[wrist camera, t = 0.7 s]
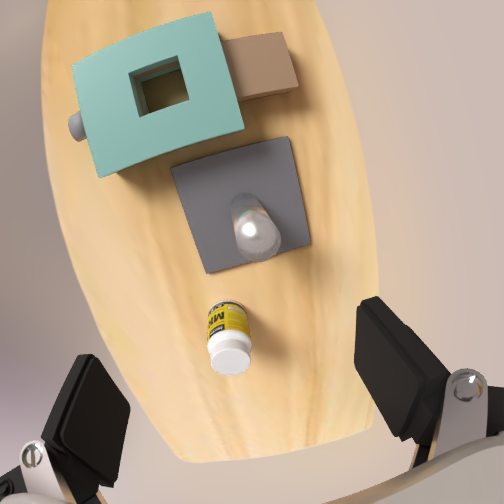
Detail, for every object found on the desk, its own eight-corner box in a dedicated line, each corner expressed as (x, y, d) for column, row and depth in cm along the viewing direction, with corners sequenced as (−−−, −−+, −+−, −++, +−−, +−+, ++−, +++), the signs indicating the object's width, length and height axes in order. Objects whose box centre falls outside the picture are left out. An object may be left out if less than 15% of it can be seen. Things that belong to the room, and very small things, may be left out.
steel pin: (244, 186, 27) (259, 210, 18) (265, 206, 28) (289, 240, 19) (223, 207, 28) (227, 242, 19) (244, 227, 29) (258, 269, 20)
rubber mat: (286, 136, 26) (288, 136, 26) (309, 242, 31) (310, 244, 30) (171, 167, 26) (170, 168, 25) (206, 271, 31) (206, 273, 30)
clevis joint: (268, 19, 21) (276, 1, 17) (297, 118, 26) (311, 114, 21) (75, 82, 20) (55, 75, 16) (100, 179, 25) (81, 186, 21)
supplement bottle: (219, 292, 32) (221, 338, 24) (253, 308, 33) (264, 355, 26) (201, 321, 33) (199, 369, 26) (233, 334, 35) (239, 383, 27)
